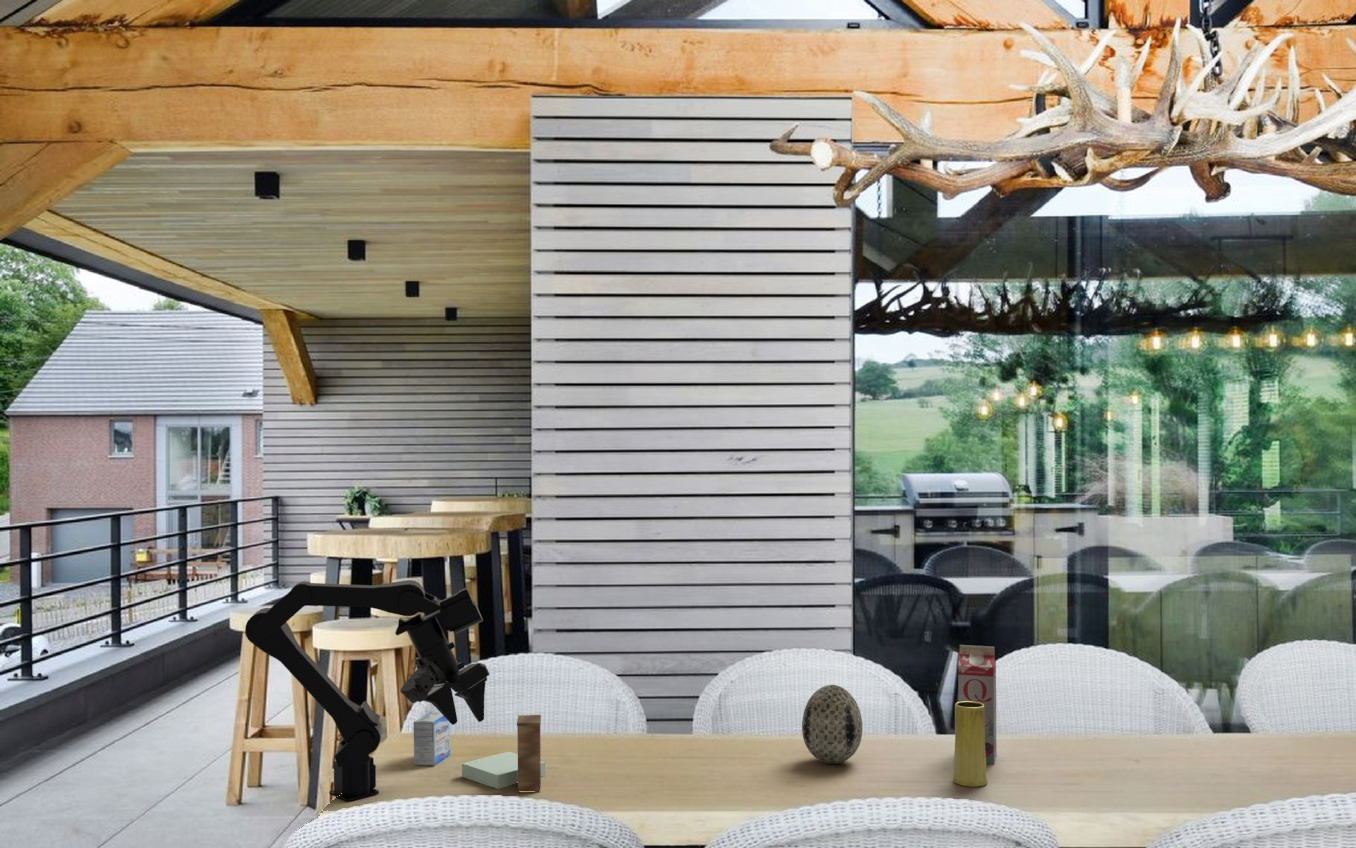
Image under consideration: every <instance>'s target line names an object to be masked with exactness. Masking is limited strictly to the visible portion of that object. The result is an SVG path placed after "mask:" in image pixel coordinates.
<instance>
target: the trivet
mask: <svg viewBox="0 0 1356 848" xmlns="http://www.w3.org/2000/svg"><path fill="white" fill-rule="evenodd" d="M545 776H546V761H545V762H544V761H542V760H541V778H542V777H545ZM461 777H462V778H465V779H468V780H470V781H473V782H476V783H479V784H482V785H485V786H488V787H490V788H493V787H494V789H496V790H500V789H502V788H501V787H503V788H506V787H510V786H509V785H511V786H513V785H512V784H514V785H516V784H515V783H517V782H518V753H515V752H512V751H505V752H501V753H497V754H494V755H490V756H485V757H482V758H478V759H475V760H474V759H473V760H470V761H466V762H462V763H461Z"/></svg>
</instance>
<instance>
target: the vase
mask: <svg viewBox="0 0 1356 848" xmlns="http://www.w3.org/2000/svg"><path fill="white" fill-rule="evenodd" d="M954 725H955V726H954V729H955V730H954V755H953V756H954V757H953V778H952V781H953V782H954V783H955V784H956V785H959V786H962V787H970V788H971V787H972V788H979V787H983V786H985V785H987V784H988V777H987V776H988V775H987V763H986V754H985V720H984V704H982V703H979V702H974V701H960V702H958V701H957V702H956V703H955V704H954Z"/></svg>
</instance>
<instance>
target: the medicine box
mask: <svg viewBox="0 0 1356 848" xmlns="http://www.w3.org/2000/svg"><path fill="white" fill-rule="evenodd" d="M450 724H451V723H450V722H449V721H448V720H447V719H446V718H445V717H444V716H443V714H442V713H441V712H440V711H432V712H431V711H430V712H429V713H428V714H425V715H423V716H421V717H420V718H418V719H417V720H416V721H413V763H414V765H415V766H431V767H432V766H433V767H435V766H437V765H439V764H440V763H441V762H442V761H443V760H445V759H447V758H448V757H449V756H450V755H451V727H450V726H451V725H450Z"/></svg>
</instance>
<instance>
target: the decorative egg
mask: <svg viewBox="0 0 1356 848" xmlns="http://www.w3.org/2000/svg"><path fill="white" fill-rule="evenodd" d="M863 731H864V730H863V719H862V713H861V710H860V708H859V705H858V703H857V701H856V700H855V698H854V696H853V695H852V694H851V693H850V692H849V691H848V690H847V689H845V688H844V687H842V686H839V685H836V684H827V685H824V686H821V687H820V688H819V689H817V690H816V691H815V692H814V693H813V694H812V695H811V697H809V699H808V701H807V703H806V705H805V708H804V711H803V715H802V722H801V733H802V738H803V741H804V745H805V747H806V748H807V750H808V751H809V753H810V754H811V755H812V756H813V757H815V759H817V760H819V761H820V762H822V763H824V764H825V763H826V764H830V765H836V764H842V763H843V762H846V761H848V760H849V759H850V758H851V757H852V756H854V755H855V754H856V752H857V750H858V749H859V747H860V744H861V741H862V737H863Z"/></svg>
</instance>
